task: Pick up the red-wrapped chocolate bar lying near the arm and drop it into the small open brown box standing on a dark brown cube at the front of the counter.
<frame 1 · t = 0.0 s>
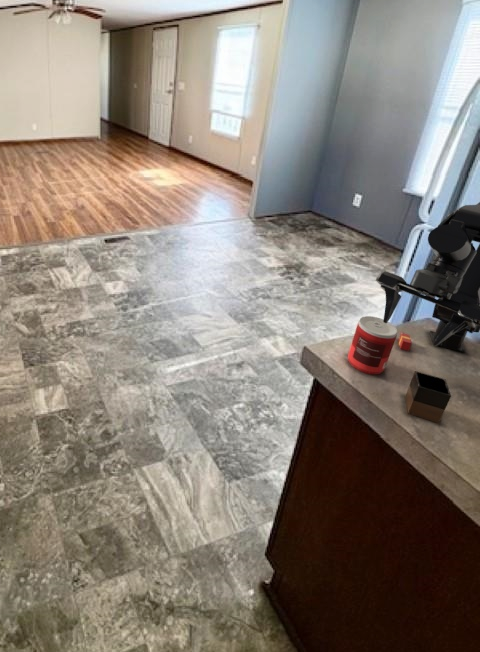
hand: (408, 333, 87), 15 cm above the countertop, tool tilted 35°, fingers open, 9 cm apart
canned food: (364, 364, 100), on the countertop
dark brown cube: (421, 409, 87), on the countertop
open brown box: (426, 396, 86), resting on dark brown cube
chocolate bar: (403, 345, 107), on the countertop
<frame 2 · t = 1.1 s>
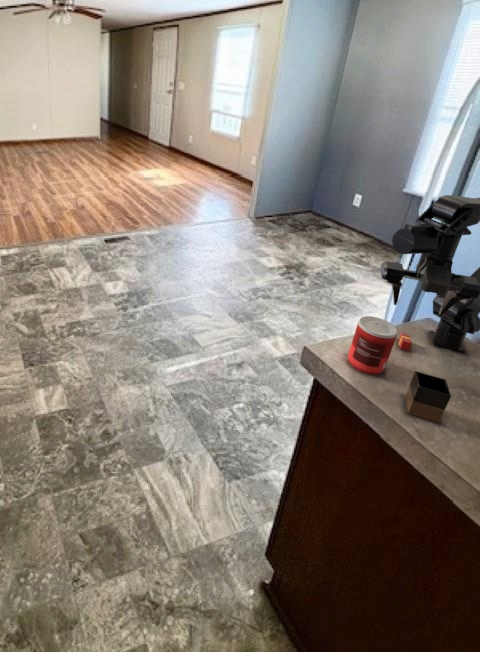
hand: (417, 309, 103), 11 cm above the countertop, tool pointing down, fingers open, 9 cm apart
nothing on the countertop moved.
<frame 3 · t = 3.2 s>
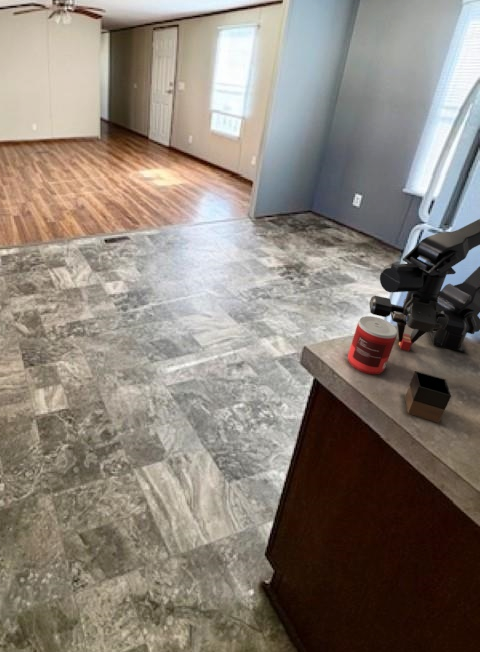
hand: (404, 342, 107), 1 cm above the countertop, tool pointing down, fingers closed on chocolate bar, 2 cm apart
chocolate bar: (403, 345, 107), on the countertop, touching gripper
everything else where it was.
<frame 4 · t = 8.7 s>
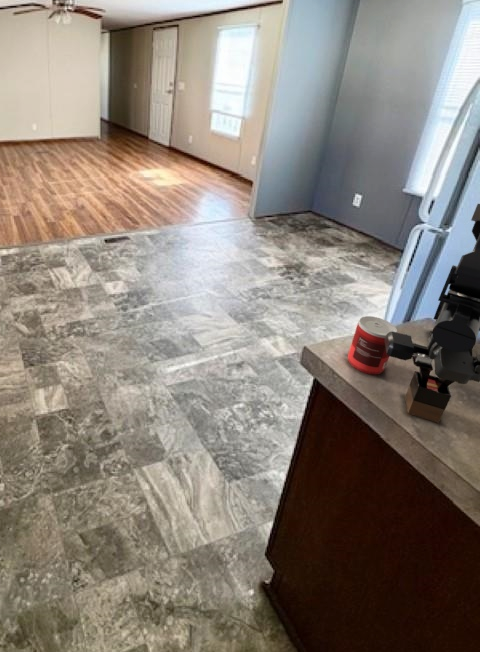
hand: (429, 390, 85), 5 cm above the countertop, tool pointing down, fingers closed on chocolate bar, 2 cm apart
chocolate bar: (427, 394, 86), point 4 cm above the countertop, touching gripper
everything else where it was.
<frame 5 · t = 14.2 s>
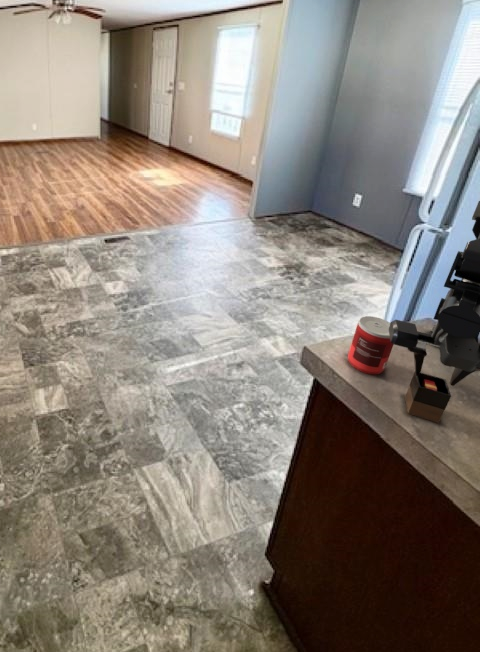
hand: (433, 379, 84), 8 cm above the countertop, tool pointing down, fingers open, 5 cm apart
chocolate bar: (426, 395, 86), point 4 cm above the countertop, touching open brown box
everything else where it was.
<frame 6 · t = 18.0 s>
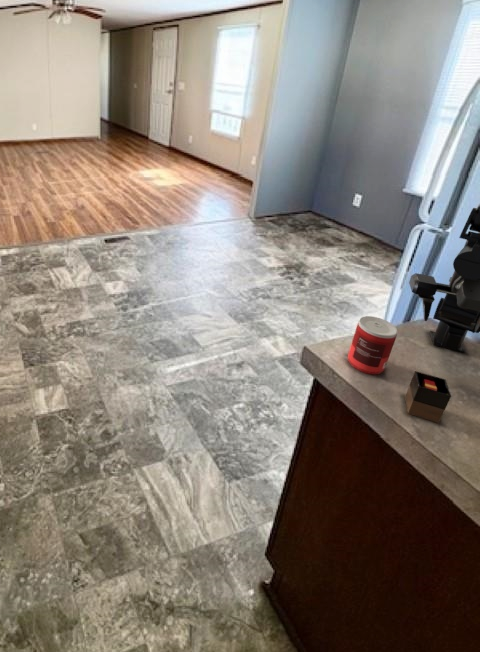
hand: (450, 326, 95), 12 cm above the countertop, tool pointing down, fingers open, 9 cm apart
nothing on the countertop moved.
at the end: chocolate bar 0.0 cm off-centre on the open brown box, point 0.3 cm above the open brown box's base; the gripper is holding nothing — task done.
